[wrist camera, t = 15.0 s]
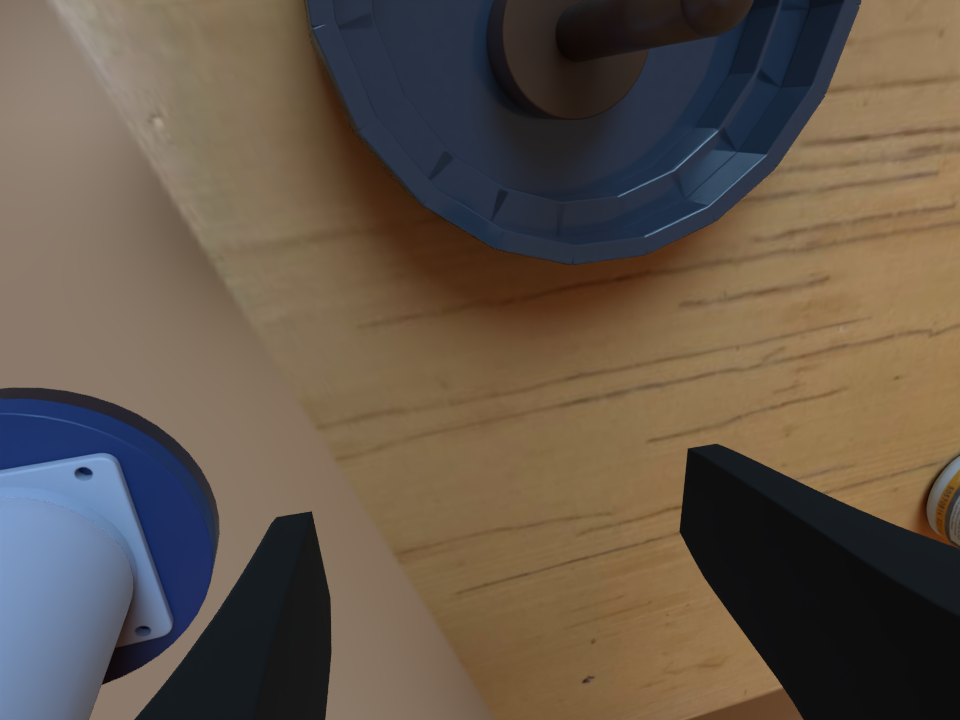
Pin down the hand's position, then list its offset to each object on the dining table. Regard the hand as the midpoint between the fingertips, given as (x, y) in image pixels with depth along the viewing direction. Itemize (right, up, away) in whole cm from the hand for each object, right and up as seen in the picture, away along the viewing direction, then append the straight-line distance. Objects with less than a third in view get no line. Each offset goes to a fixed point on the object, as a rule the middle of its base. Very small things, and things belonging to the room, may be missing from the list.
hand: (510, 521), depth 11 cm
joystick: (+2, +13, +7) cm, 14 cm away
